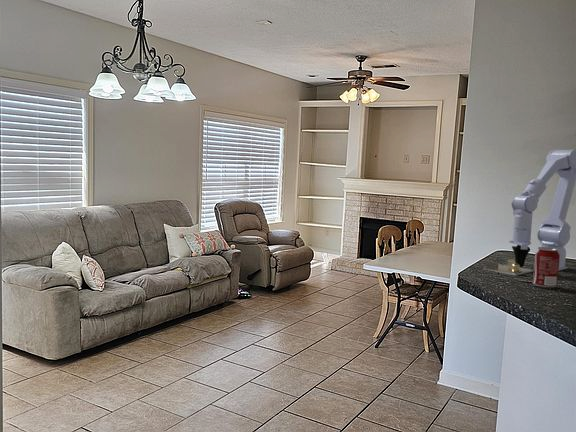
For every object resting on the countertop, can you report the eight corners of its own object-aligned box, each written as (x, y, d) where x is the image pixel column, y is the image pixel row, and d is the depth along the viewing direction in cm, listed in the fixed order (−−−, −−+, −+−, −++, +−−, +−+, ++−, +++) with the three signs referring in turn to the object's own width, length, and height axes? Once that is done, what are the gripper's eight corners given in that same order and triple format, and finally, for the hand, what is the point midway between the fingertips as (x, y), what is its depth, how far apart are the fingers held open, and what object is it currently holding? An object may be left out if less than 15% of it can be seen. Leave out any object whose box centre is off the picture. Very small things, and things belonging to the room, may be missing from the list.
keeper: (491, 267, 185) (491, 260, 184) (510, 270, 179) (510, 263, 179) (485, 268, 182) (486, 261, 182) (504, 271, 177) (505, 264, 177)
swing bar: (519, 272, 175) (520, 263, 175) (512, 271, 176) (512, 263, 175) (513, 266, 186) (514, 258, 186) (506, 265, 186) (507, 257, 186)
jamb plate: (500, 265, 191) (500, 263, 191) (532, 271, 182) (533, 269, 182) (482, 269, 183) (483, 267, 183) (516, 275, 174) (516, 273, 174)
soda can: (559, 290, 155) (563, 250, 153) (536, 288, 156) (539, 249, 155) (553, 285, 161) (556, 247, 160) (530, 283, 162) (533, 246, 161)
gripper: (507, 226, 189) (504, 262, 190) (513, 230, 175) (510, 269, 176) (528, 227, 187) (525, 263, 188) (535, 231, 173) (532, 271, 175)
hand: (519, 266), depth 182 cm, fingers closed, pressing on swing bar
